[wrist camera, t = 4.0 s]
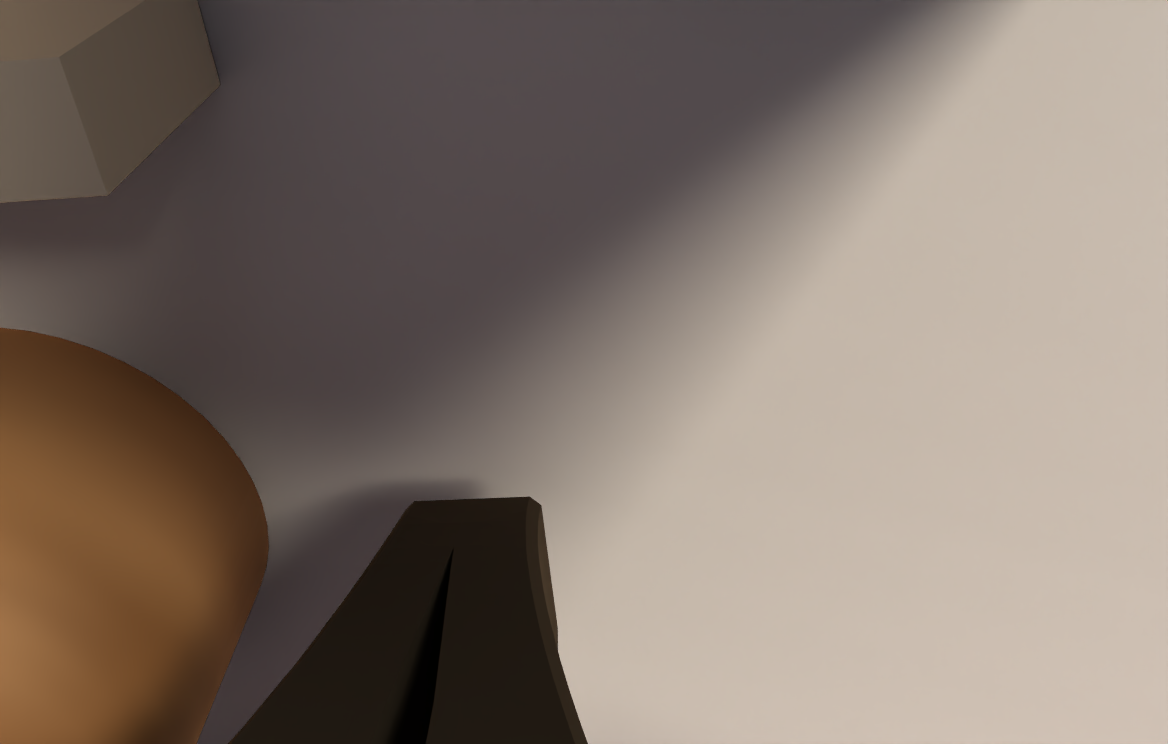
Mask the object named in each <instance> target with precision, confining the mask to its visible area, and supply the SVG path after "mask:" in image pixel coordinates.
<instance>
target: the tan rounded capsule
mask: <svg viewBox="0 0 1168 744" xmlns="http://www.w3.org/2000/svg"><path fill="white" fill-rule="evenodd" d="M268 550H269V541H268V526H267V522H266V518H265V513H264V509H263V505H262V502H261V500H260V497H259V495H258V492H257V490H256V487H255V485H254V483H253V481H252V479H251V477H250V475H249V474H248V472H247V470H246V468H245V467H244V465H243V463H242V462H241V460H240V458H239V457H238V456H237V454H236V453H235V452H234V451H233V449H232V448H231V447H230V445H229V444H228V443H227V441H226V440H225V439H224V437H223V436H222V435H221V434H220V433H219V432H218V431H217V430H216V429H215V428H214V427H213V426H212V425H211V424H210V423H209V422H208V421H207V420H206V419H205V418H204V416H202V415H201V414H200V413H199V412H198V411H197V410H195V409H194V408H193V407H192V406H191V405H189V404H188V403H187V402H186V401H185V400H183V399H182V398H181V397H180V396H179V395H177V394H176V393H174V392H173V391H171V390H170V389H168V388H167V387H165V386H164V385H163V384H161V383H160V382H158V381H157V380H155V379H154V378H152V377H150V376H149V375H147V374H145V373H143V372H141V371H139V370H138V369H136V368H134V367H132V366H130V365H129V364H127V363H125V362H123V361H121V360H118V359H116V358H114V357H111V356H109V355H107V354H105V353H102V352H100V351H98V350H95V349H93V348H90V347H87V346H84V345H81V344H78V343H75V342H71V341H68V340H65V339H62V338H58V337H54V336H49V335H45V334H40V333H35V332H31V331H24V330H16V329H7V328H0V744H197V741H198V739H199V736H200V734H201V731H202V729H203V726H204V724H205V721H206V719H207V716H208V714H209V712H210V709H211V707H212V704H213V702H214V699H215V697H216V694H217V692H218V689H219V687H220V684H221V682H222V680H223V677H224V675H225V672H226V670H227V667H228V665H229V662H230V660H231V657H232V655H233V652H234V650H235V647H236V645H237V643H238V640H239V638H240V635H241V633H242V630H243V628H244V625H245V623H246V620H247V618H248V615H249V613H250V611H251V608H252V606H253V603H254V601H255V598H256V596H257V593H258V591H259V588H260V586H261V583H262V580H263V577H264V573H265V570H266V567H267V559H268Z"/></svg>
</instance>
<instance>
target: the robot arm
mask: <svg viewBox="0 0 1168 744" xmlns="http://www.w3.org/2000/svg"><path fill="white" fill-rule="evenodd" d="M228 744H588V743H587V740H586V737H585V735H584V732H583V729H582V726H581V724H580V721H579V718H578V715H577V712H576V709H575V706H574V703H573V700H572V697H571V694H570V691H569V688H568V685H567V681H566V678H565V675H564V671H563V668H562V664H561V661H560V658H559V654H558V627H557V620H556V612H555V605H554V597H553V590H552V582H551V575H550V567H549V560H548V552H547V545H546V537H545V530H544V523H543V515H542V508H541V505H540V504H539V503H537V502H536V501H535V500H533V499H532V498H531V497H510V498H485V499H460V500H435V501H414V502H413V503H412V504H411V505H410V506H409V507H408V508H407V509H406V510H405V512H404V513H403V515H402V516H401V518H400V519H399V521H398V522H397V524H396V525H395V527H394V528H393V530H392V531H391V533H390V534H389V536H388V537H387V539H386V540H385V542H384V543H383V545H382V546H381V548H380V549H379V551H378V552H377V554H376V555H375V557H374V558H373V560H372V561H371V563H370V564H369V565H368V567H367V568H366V570H365V571H364V573H363V574H362V575H361V577H360V578H359V580H358V581H357V583H356V584H355V585H354V587H353V588H352V590H351V591H350V592H349V594H348V595H347V597H346V598H345V599H344V601H343V602H342V603H341V605H340V606H339V607H338V609H337V610H336V611H335V613H334V614H333V615H332V617H331V618H330V619H329V621H328V622H327V623H326V625H325V626H324V627H323V629H322V630H321V631H320V633H319V634H318V636H317V637H316V638H315V640H314V641H313V642H312V643H311V645H310V646H309V648H308V649H307V650H306V651H305V653H304V654H303V655H302V657H301V658H300V659H299V660H298V662H297V663H296V664H295V665H294V667H293V668H292V669H291V670H290V671H289V673H288V674H287V675H286V676H285V677H284V679H283V680H282V681H281V682H280V683H279V685H278V686H277V687H276V688H275V689H274V691H273V692H272V693H271V694H270V695H269V697H268V698H267V699H266V700H265V701H264V703H263V704H262V705H261V706H260V707H259V709H258V710H257V711H256V712H255V713H254V715H253V716H252V717H251V718H250V719H249V721H248V722H247V723H246V724H245V725H244V726H243V728H242V729H241V730H240V731H239V732H238V733H237V734H236V735H235V737H234V738H233V739H232V740H231V741H230V742H229V743H228Z"/></svg>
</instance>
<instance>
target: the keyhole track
mask: <svg viewBox="0 0 1168 744" xmlns="http://www.w3.org/2000/svg"><path fill="white" fill-rule="evenodd" d="M219 86H220V82H219V78H218V74H217V71H216V67H215V63H214V60H213V56H212V53H211V49H210V45H209V42H208V38H207V34H206V31H205V27H204V23H203V20H202V16H201V13H200V9H199V5H198V2H197V0H0V203H4V202H20V201H35V200H50V199H65V198H80V197H96V196H108V195H109V194H110V193H111V192H112V191H113V190H114V189H115V188H116V187H117V186H118V185H119V184H120V183H121V182H122V181H123V180H124V179H125V178H126V177H127V176H128V175H129V174H130V173H131V172H133V171H134V170H135V169H136V168H137V167H138V166H139V165H140V164H141V163H142V162H143V161H144V160H145V159H146V158H147V157H148V156H149V155H150V154H151V153H152V152H153V151H154V150H155V149H156V148H157V147H158V146H159V145H160V144H161V143H162V142H163V141H164V140H165V139H166V138H167V137H168V136H169V135H170V134H171V133H172V132H173V131H174V130H175V129H176V128H177V127H178V126H179V125H180V124H181V123H182V122H183V121H184V120H185V119H186V118H187V117H188V116H189V115H190V114H191V113H192V112H193V111H194V110H195V109H196V108H197V107H198V106H199V105H200V104H201V103H202V102H203V101H204V100H206V99H207V98H208V97H209V96H210V95H211V94H212V93H213V92H214V91H215V90H216V89H217V88H218V87H219Z"/></svg>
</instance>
